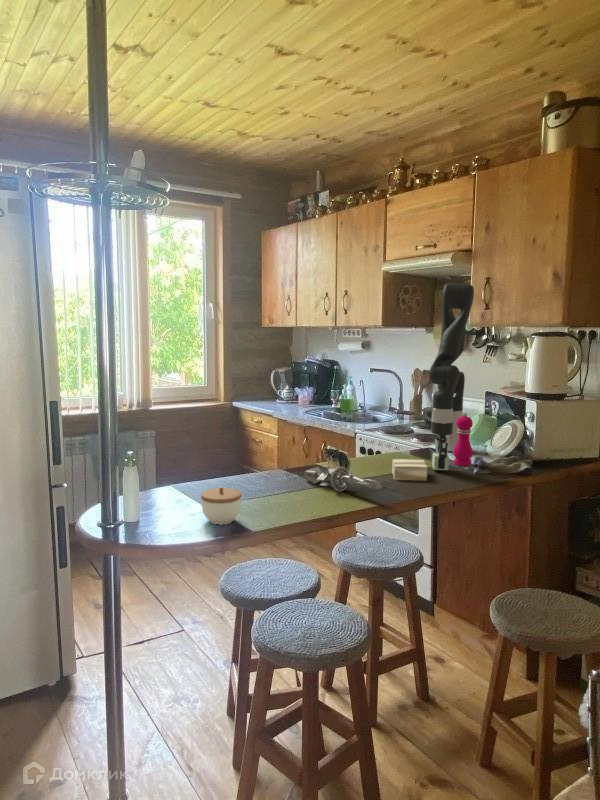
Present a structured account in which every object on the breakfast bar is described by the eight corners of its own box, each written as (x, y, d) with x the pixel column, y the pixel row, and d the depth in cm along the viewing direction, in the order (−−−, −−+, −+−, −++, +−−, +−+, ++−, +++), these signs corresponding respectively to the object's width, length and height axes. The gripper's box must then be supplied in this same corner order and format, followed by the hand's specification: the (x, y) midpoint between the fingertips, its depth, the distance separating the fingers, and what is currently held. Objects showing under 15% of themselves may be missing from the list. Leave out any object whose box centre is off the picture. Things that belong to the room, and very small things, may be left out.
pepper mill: (474, 466, 225) (477, 413, 222) (455, 466, 225) (457, 413, 222) (469, 462, 232) (472, 411, 229) (450, 461, 232) (453, 410, 229)
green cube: (432, 466, 220) (432, 453, 220) (446, 466, 220) (446, 453, 219) (434, 469, 215) (434, 456, 215) (448, 470, 215) (448, 456, 214)
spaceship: (369, 481, 174) (386, 466, 178) (293, 469, 201) (309, 457, 205) (378, 504, 176) (394, 489, 181) (301, 489, 203) (316, 477, 208)
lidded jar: (200, 528, 156) (199, 493, 155) (202, 515, 167) (202, 482, 165) (241, 527, 157) (241, 492, 156) (241, 514, 168) (241, 481, 167)
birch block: (392, 472, 217) (392, 458, 216) (422, 473, 216) (423, 459, 215) (394, 480, 206) (394, 466, 205) (426, 481, 205) (427, 467, 204)
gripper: (429, 416, 222) (427, 461, 225) (434, 423, 208) (432, 471, 211) (449, 417, 222) (447, 462, 224) (456, 424, 208) (453, 472, 210)
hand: (440, 466), depth 217 cm, fingers closed on green cube, 5 cm apart
